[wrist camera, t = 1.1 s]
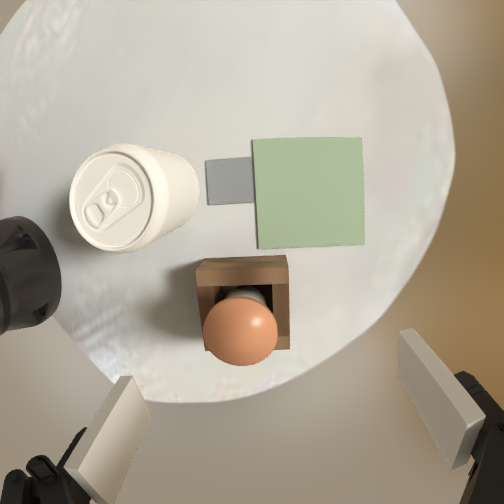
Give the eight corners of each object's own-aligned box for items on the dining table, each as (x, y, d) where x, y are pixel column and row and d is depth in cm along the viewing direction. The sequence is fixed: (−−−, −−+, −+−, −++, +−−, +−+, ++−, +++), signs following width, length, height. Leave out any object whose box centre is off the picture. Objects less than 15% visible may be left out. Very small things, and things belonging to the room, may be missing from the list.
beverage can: (217, 198, 31) (187, 211, 19) (158, 244, 32) (105, 279, 21) (171, 137, 30) (119, 117, 18) (115, 186, 31) (48, 193, 20)
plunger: (217, 333, 31) (207, 365, 25) (211, 278, 30) (198, 301, 24) (276, 332, 31) (278, 364, 25) (275, 275, 29) (276, 299, 24)
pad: (258, 248, 32) (258, 249, 32) (252, 139, 29) (252, 139, 29) (363, 244, 31) (364, 244, 31) (361, 138, 29) (361, 137, 29)
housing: (212, 330, 34) (205, 350, 30) (204, 258, 32) (194, 270, 28) (287, 328, 34) (289, 349, 30) (285, 255, 32) (288, 267, 28)
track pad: (209, 204, 31) (208, 204, 31) (206, 160, 30) (205, 160, 30) (253, 202, 31) (253, 202, 31) (251, 157, 30) (251, 156, 30)
